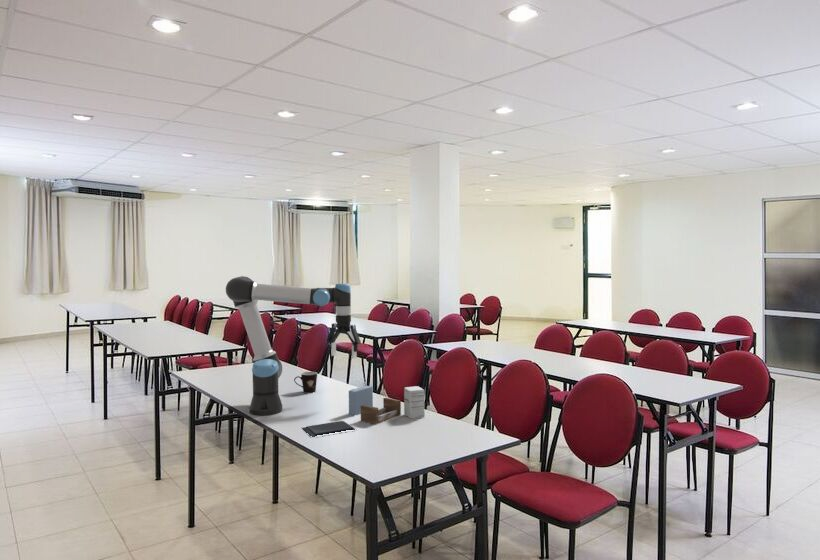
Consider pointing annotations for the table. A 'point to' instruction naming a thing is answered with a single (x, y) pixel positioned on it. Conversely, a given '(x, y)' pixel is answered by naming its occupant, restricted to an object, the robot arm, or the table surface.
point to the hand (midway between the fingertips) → (343, 356)
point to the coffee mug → (308, 381)
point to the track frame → (381, 411)
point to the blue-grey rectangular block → (360, 399)
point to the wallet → (327, 428)
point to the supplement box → (414, 402)
